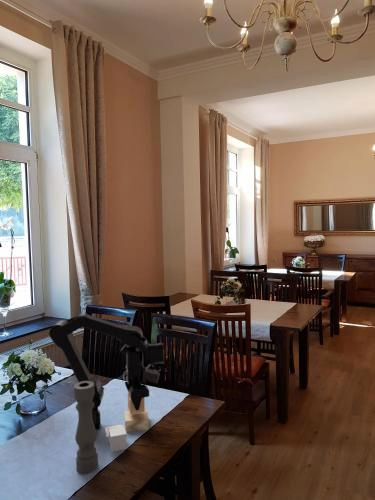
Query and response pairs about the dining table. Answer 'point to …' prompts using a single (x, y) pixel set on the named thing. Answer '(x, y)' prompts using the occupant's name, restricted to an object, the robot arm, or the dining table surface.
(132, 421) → the maple base block
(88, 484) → the dining table surface
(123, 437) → the white cube
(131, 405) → the terracotta block
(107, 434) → the card
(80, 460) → the candle holder
